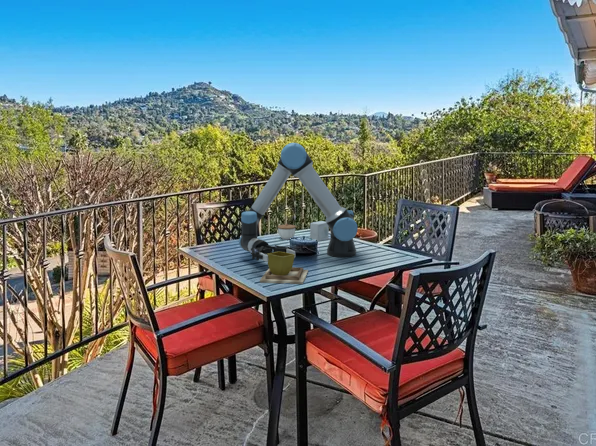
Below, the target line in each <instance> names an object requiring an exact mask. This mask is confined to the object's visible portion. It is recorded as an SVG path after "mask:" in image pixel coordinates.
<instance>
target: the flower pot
mask: <svg viewBox="0 0 596 446" xmlns="http://www.w3.org/2000/svg"><path fill="white" fill-rule="evenodd" d="M266 255H268V262H267V266H268V269H270V271H271V273H272V274H275V275H287V274H288V273H289V272H290V270H291V269H292V267H294V260H295V258H294V256H295V257H296V253H295V254H291V253H285V252H274V253H268V254H266Z"/></svg>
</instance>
